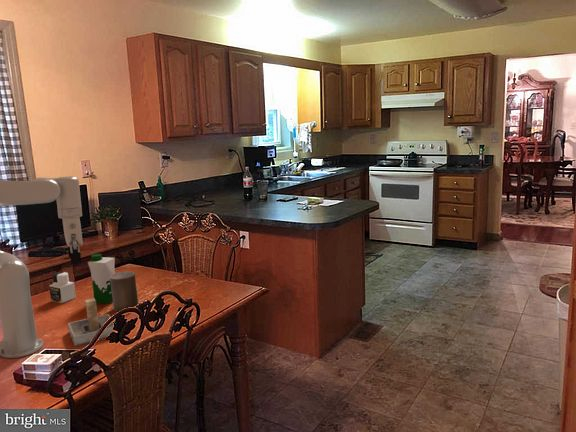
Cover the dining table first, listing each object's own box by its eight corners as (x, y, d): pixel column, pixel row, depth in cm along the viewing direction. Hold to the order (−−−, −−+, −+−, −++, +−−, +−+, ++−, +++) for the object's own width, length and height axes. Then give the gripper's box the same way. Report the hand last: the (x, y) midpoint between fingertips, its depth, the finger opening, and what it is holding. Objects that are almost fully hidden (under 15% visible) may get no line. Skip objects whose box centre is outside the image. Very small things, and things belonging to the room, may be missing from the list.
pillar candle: (142, 306, 188) (139, 271, 185) (119, 313, 181) (115, 277, 179) (131, 301, 195) (128, 266, 192) (109, 307, 188) (105, 272, 185)
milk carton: (102, 296, 201) (97, 252, 198) (121, 297, 200) (116, 252, 196) (90, 303, 193) (84, 257, 189) (110, 304, 191) (104, 258, 187)
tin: (75, 346, 154) (73, 337, 154) (68, 332, 166) (67, 323, 165) (118, 335, 162) (117, 326, 161) (109, 322, 173) (108, 313, 173)
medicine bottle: (50, 301, 198) (47, 274, 195) (65, 295, 204) (61, 269, 202) (61, 303, 194) (57, 276, 192) (76, 297, 201) (72, 271, 198)
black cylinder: (90, 334, 162) (86, 302, 160) (89, 331, 165) (85, 300, 162) (99, 332, 164) (95, 300, 161) (98, 329, 166) (94, 298, 164)
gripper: (84, 215, 153) (89, 264, 156) (79, 208, 168) (83, 253, 171) (59, 217, 150) (65, 268, 153) (56, 210, 164) (61, 256, 167)
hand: (75, 260), depth 162 cm, fingers open, 9 cm apart
